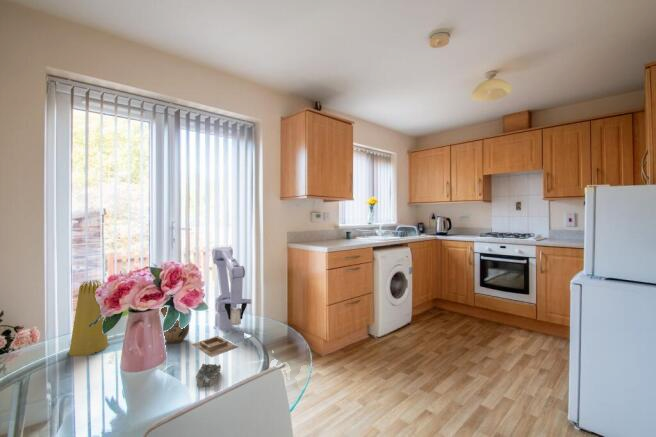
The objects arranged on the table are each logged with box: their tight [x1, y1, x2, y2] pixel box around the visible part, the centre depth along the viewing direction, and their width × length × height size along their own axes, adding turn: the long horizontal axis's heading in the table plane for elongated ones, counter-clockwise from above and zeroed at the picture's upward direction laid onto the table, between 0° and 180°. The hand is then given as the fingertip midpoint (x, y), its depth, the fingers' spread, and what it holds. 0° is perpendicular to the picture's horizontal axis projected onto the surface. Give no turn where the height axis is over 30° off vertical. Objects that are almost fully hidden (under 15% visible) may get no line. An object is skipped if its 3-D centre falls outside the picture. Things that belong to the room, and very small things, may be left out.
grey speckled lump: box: [195, 363, 222, 388], centre depth 107 cm, size 11×8×4 cm
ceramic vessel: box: [160, 307, 190, 344], centre depth 137 cm, size 16×9×25 cm, turn 93°
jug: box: [230, 307, 242, 326], centre depth 141 cm, size 9×5×7 cm, turn 10°
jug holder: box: [191, 335, 238, 358], centre depth 133 cm, size 18×13×2 cm
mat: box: [222, 330, 247, 344], centre depth 144 cm, size 11×11×1 cm
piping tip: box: [68, 279, 109, 357], centre depth 128 cm, size 14×14×30 cm
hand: (235, 318), depth 142 cm, fingers closed on jug, 5 cm apart
